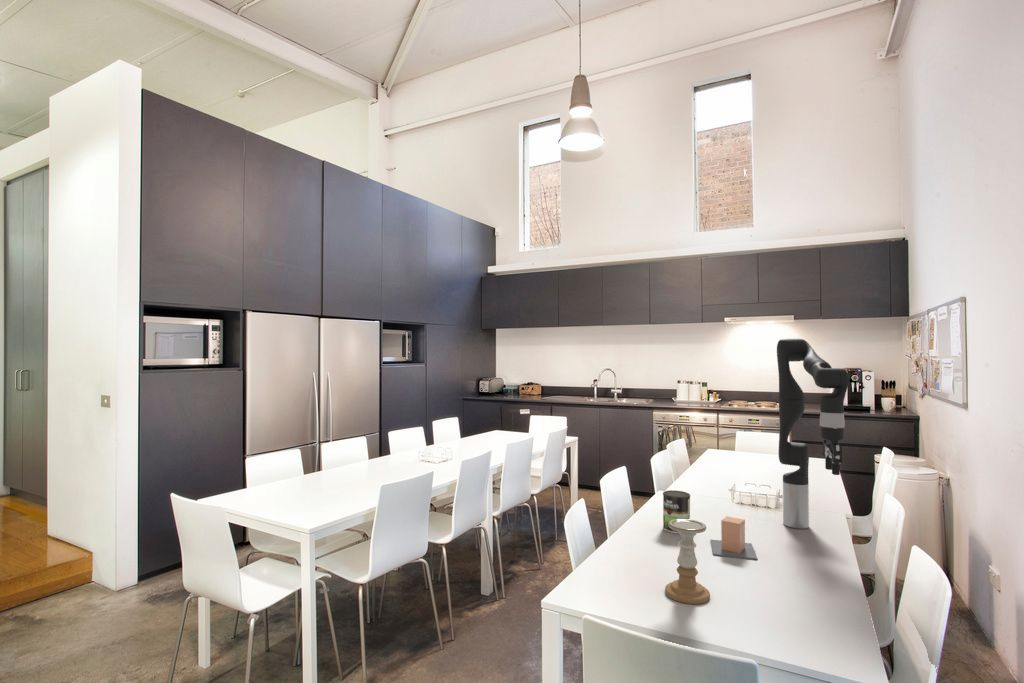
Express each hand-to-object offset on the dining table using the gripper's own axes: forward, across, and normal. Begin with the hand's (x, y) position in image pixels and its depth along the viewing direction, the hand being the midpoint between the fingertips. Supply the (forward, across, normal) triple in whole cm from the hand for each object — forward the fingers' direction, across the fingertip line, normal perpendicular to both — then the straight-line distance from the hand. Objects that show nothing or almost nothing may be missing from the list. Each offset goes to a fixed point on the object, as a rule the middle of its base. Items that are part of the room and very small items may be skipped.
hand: (832, 472), depth 188 cm
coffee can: (+28, -10, -52) cm, 60 cm away
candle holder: (+28, +49, -49) cm, 75 cm away
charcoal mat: (+28, +7, -33) cm, 44 cm away
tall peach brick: (+28, +7, -33) cm, 44 cm away
